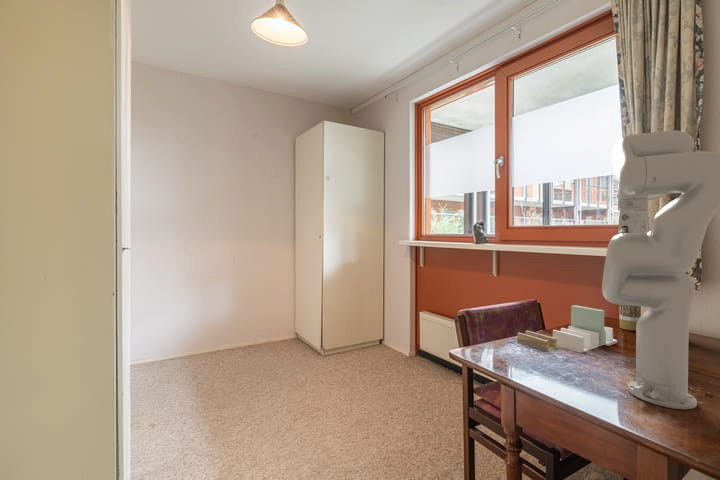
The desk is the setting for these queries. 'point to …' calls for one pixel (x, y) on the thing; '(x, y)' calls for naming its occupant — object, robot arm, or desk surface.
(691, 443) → the desk surface
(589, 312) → the plate
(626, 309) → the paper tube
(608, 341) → the dish rack
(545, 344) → the plate stand
